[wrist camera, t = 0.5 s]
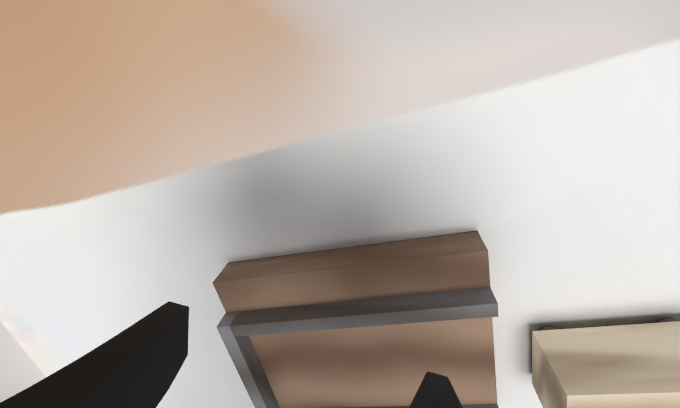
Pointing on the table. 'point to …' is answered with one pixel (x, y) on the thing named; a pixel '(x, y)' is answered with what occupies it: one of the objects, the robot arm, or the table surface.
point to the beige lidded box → (608, 366)
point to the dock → (362, 323)
